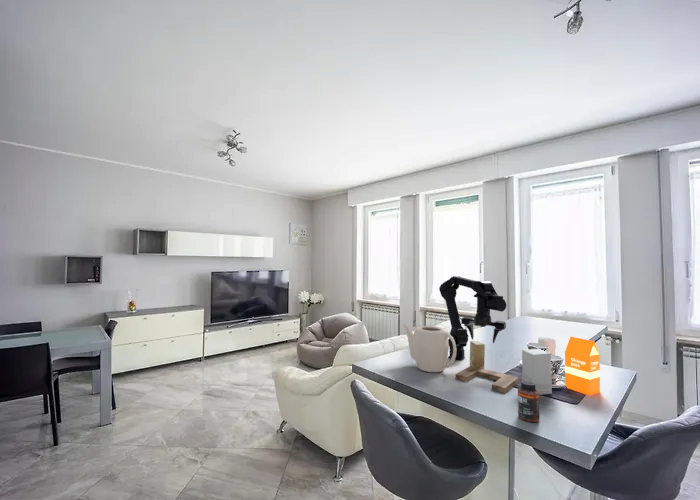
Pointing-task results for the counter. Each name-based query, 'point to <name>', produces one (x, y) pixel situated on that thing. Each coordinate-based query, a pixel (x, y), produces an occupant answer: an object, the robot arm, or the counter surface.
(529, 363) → the skincare box
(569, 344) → the orange juice
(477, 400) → the counter surface
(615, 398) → the counter surface
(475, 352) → the skincare box
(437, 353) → the watering can
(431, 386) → the counter surface
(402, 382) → the counter surface
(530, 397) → the supplement bottle
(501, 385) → the notched board
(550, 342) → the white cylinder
